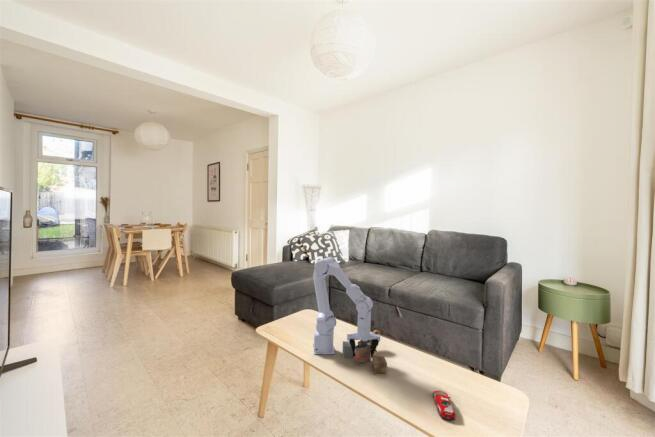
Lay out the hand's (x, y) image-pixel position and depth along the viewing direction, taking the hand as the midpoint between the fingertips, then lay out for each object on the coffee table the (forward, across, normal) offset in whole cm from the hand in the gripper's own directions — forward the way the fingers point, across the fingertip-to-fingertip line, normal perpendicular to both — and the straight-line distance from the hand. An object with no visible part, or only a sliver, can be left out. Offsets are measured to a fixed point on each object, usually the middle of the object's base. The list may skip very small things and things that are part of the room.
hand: (362, 355), depth 127 cm
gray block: (+3, -6, +6) cm, 9 cm away
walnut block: (+3, +6, -6) cm, 9 cm away
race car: (+4, +24, -28) cm, 37 cm away
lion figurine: (+3, +4, +10) cm, 11 cm away
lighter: (+3, 0, 0) cm, 3 cm away
